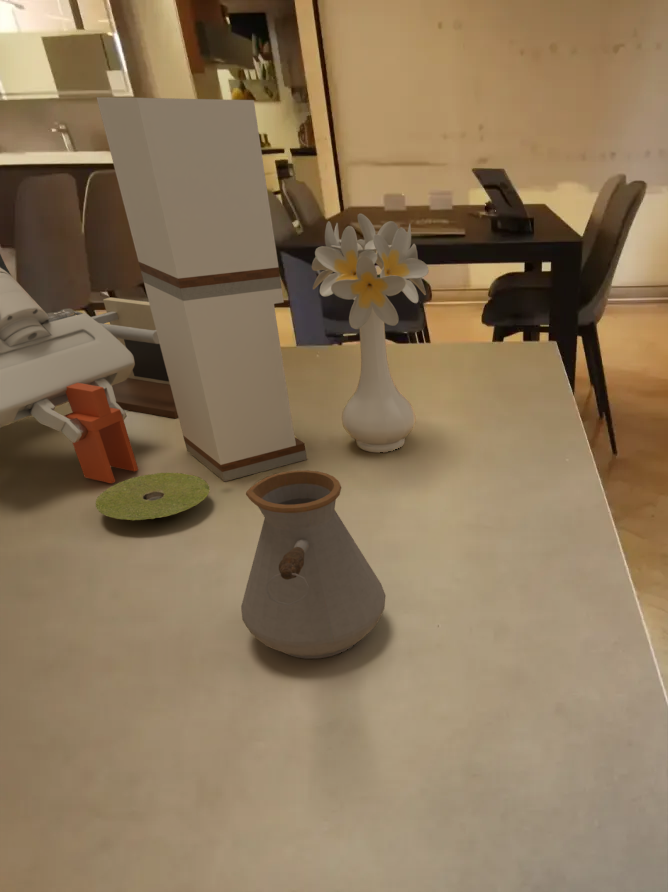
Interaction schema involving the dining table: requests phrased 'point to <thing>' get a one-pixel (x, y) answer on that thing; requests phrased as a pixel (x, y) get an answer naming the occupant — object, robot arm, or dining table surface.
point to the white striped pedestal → (208, 272)
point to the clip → (99, 433)
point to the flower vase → (372, 322)
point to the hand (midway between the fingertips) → (101, 429)
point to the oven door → (139, 358)
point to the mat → (152, 496)
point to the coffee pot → (307, 570)
